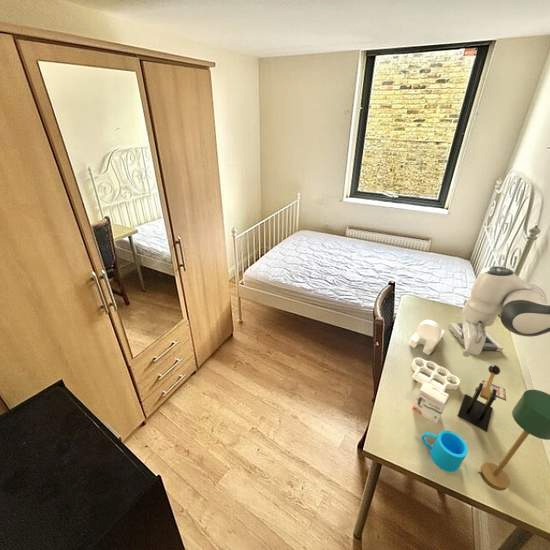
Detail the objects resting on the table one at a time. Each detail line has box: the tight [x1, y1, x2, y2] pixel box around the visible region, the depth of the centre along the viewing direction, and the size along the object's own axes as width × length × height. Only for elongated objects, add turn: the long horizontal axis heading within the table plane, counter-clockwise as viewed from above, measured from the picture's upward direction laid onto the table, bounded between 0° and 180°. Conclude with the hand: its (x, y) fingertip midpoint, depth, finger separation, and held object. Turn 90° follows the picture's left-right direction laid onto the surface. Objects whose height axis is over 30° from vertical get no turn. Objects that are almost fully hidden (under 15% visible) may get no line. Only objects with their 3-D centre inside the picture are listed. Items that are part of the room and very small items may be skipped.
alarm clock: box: [447, 321, 504, 352], centre depth 140 cm, size 17×5×16 cm
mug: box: [420, 430, 469, 473], centre depth 91 cm, size 12×8×8 cm
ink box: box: [412, 382, 451, 424], centre depth 102 cm, size 9×5×12 cm, turn 47°
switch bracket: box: [457, 382, 498, 433], centre depth 103 cm, size 12×9×13 cm
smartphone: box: [481, 379, 507, 401], centre depth 117 cm, size 8×15×1 cm, turn 145°
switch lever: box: [479, 364, 501, 401], centre depth 102 cm, size 13×3×3 cm, turn 138°
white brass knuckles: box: [411, 357, 461, 392], centre depth 119 cm, size 3×18×15 cm
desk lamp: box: [479, 389, 550, 492], centre depth 79 cm, size 9×9×34 cm
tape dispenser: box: [408, 319, 445, 355], centre depth 137 cm, size 10×18×11 cm, turn 135°
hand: (464, 346), depth 99 cm, fingers open, 8 cm apart
